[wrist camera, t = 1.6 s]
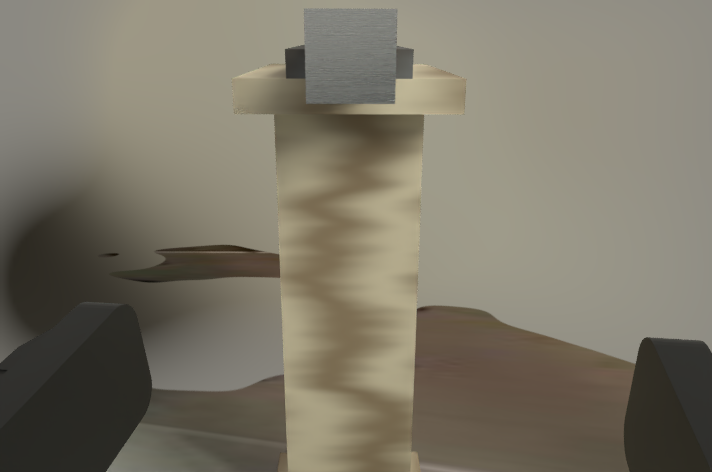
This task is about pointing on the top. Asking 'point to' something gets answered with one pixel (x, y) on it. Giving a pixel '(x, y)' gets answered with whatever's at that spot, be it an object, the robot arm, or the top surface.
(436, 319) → the top surface
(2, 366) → the robot arm
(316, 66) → the grey metal block
